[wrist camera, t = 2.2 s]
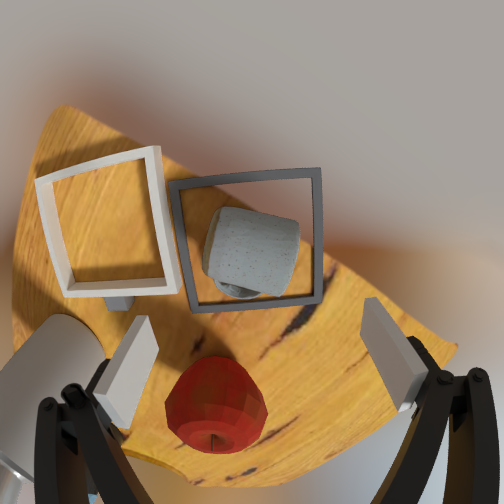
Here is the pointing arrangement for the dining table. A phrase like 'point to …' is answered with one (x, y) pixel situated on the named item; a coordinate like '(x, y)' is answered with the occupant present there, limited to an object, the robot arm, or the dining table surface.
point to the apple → (216, 407)
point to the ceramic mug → (250, 252)
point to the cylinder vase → (42, 382)
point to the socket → (123, 291)
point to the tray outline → (248, 177)
